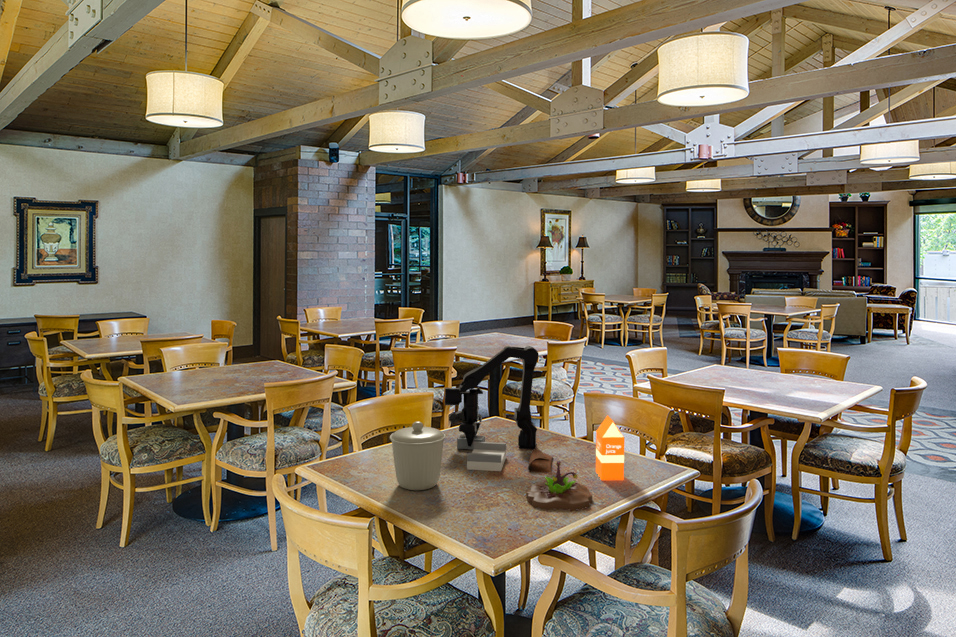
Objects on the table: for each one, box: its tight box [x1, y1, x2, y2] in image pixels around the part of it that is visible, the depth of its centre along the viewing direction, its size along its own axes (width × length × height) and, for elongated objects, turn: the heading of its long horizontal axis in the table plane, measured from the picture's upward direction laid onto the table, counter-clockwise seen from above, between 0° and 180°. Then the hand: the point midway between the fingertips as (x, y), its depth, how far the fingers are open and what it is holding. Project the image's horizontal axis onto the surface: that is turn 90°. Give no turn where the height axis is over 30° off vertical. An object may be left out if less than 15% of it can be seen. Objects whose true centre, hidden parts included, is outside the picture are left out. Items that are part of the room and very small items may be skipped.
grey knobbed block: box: [456, 432, 486, 451], centre depth 247 cm, size 10×6×5 cm, turn 78°
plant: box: [525, 461, 593, 511], centre depth 194 cm, size 20×20×11 cm
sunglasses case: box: [528, 448, 554, 473], centre depth 227 cm, size 18×7×7 cm
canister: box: [389, 420, 447, 491], centre depth 204 cm, size 18×18×21 cm
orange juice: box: [595, 415, 625, 481], centre depth 213 cm, size 8×9×20 cm
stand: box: [466, 441, 507, 472], centre depth 228 cm, size 12×16×6 cm
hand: (470, 444), depth 247 cm, fingers closed on grey knobbed block, 6 cm apart
